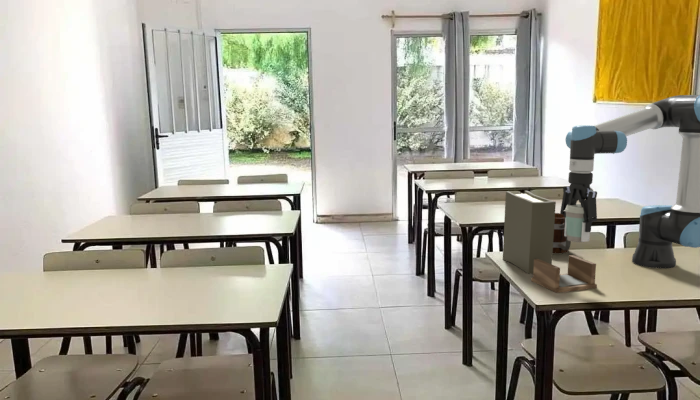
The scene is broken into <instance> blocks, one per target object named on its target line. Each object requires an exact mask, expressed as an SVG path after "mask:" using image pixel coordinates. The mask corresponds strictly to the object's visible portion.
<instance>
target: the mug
mask: <svg viewBox="0 0 700 400" xmlns="http://www.w3.org/2000/svg"><path fill="white" fill-rule="evenodd" d="M564 220H565V217H564V215H563V214H560V212H559V213H558V212H555V222H554V237H553V252H552V254H559V255H560V254H561V255H562V254H566V253H568V252H569V250H570V248H571V245H572V244H571V243H572V241H568V240H567V236H564V233H565V226H564V222H565V221H564Z"/></svg>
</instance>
